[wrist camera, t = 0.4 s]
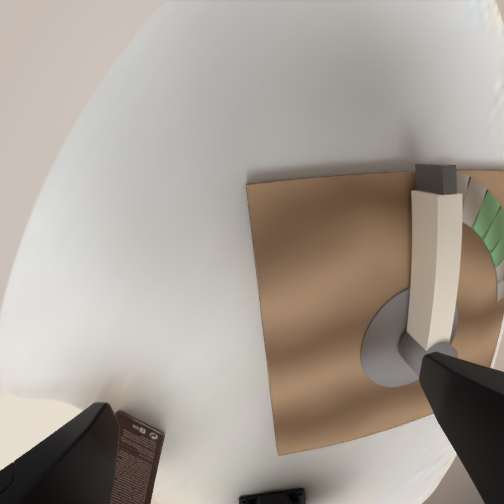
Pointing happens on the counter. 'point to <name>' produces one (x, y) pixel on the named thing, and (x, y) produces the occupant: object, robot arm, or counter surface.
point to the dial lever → (433, 264)
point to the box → (136, 461)
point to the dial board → (361, 298)
